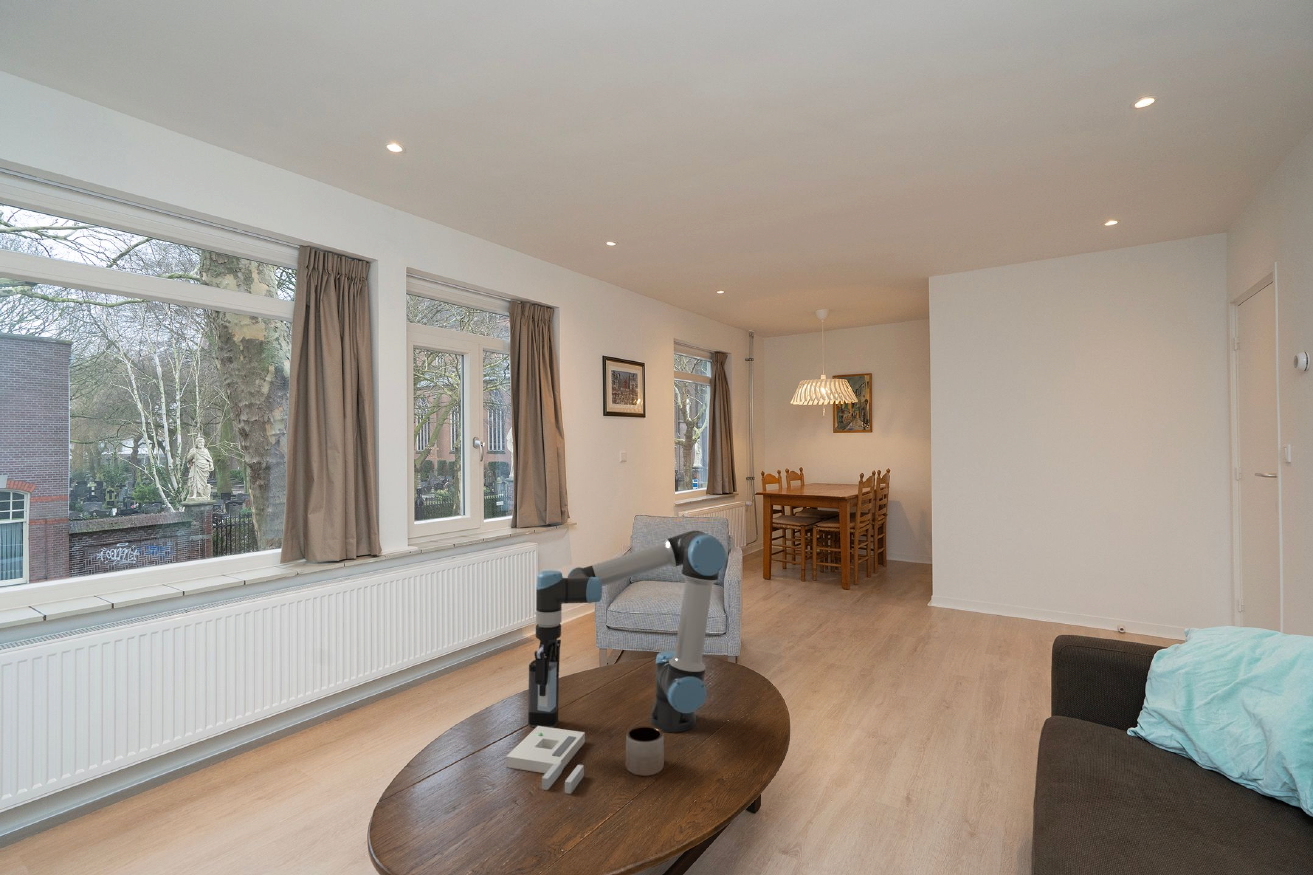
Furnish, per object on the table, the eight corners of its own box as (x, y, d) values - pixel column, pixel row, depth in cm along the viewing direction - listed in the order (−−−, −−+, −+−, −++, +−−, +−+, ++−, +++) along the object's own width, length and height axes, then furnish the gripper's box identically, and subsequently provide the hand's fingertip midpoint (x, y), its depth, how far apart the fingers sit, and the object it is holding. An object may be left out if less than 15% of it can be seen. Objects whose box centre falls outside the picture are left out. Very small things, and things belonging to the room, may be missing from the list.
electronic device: (559, 720, 202) (560, 660, 203) (554, 728, 196) (555, 666, 197) (532, 719, 203) (533, 659, 204) (526, 727, 197) (527, 665, 198)
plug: (556, 706, 181) (557, 661, 182) (550, 711, 177) (551, 666, 178) (543, 704, 183) (544, 660, 183) (537, 710, 178) (538, 665, 179)
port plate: (584, 742, 187) (585, 730, 187) (557, 775, 168) (557, 762, 168) (537, 735, 191) (537, 724, 192) (506, 766, 172) (506, 754, 172)
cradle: (583, 776, 167) (583, 765, 168) (570, 793, 159) (570, 782, 159) (556, 771, 170) (556, 760, 170) (541, 788, 161) (541, 777, 161)
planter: (668, 761, 176) (668, 728, 176) (656, 780, 166) (656, 744, 166) (633, 754, 180) (634, 722, 180) (619, 773, 169) (620, 738, 170)
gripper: (549, 615, 190) (547, 690, 189) (523, 630, 173) (521, 712, 173) (571, 617, 188) (570, 693, 187) (547, 632, 171) (545, 716, 171)
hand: (547, 702), depth 180 cm, fingers closed on plug, 4 cm apart
